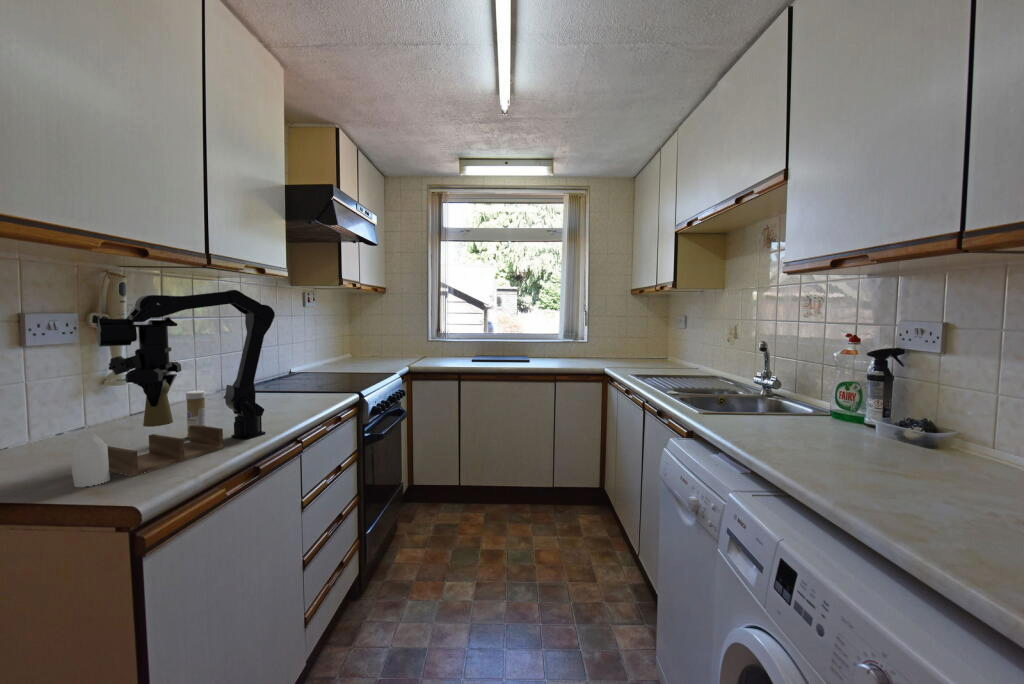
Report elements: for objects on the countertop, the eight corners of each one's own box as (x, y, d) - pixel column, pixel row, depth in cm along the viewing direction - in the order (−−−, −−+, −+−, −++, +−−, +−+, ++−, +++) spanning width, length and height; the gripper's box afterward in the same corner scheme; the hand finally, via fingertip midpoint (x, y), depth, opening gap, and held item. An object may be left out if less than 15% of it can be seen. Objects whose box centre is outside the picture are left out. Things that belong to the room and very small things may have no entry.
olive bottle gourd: (170, 424, 109) (168, 382, 108) (140, 427, 106) (137, 384, 105) (175, 419, 114) (173, 379, 113) (146, 422, 111) (143, 380, 110)
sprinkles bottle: (183, 438, 123) (181, 392, 122) (196, 433, 128) (195, 389, 127) (197, 439, 122) (195, 393, 122) (210, 434, 127) (209, 390, 126)
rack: (193, 444, 118) (193, 424, 117) (223, 448, 114) (222, 428, 114) (100, 470, 98) (99, 446, 97) (133, 476, 94) (132, 452, 94)
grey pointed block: (114, 425, 92) (85, 432, 87) (117, 478, 93) (88, 489, 88) (91, 423, 93) (60, 430, 88) (93, 476, 94) (64, 486, 88)
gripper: (129, 342, 114) (132, 399, 115) (94, 348, 97) (99, 415, 98) (180, 341, 118) (183, 396, 119) (155, 347, 101) (159, 411, 102)
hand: (157, 404), depth 110 cm, fingers closed on olive bottle gourd, 5 cm apart
